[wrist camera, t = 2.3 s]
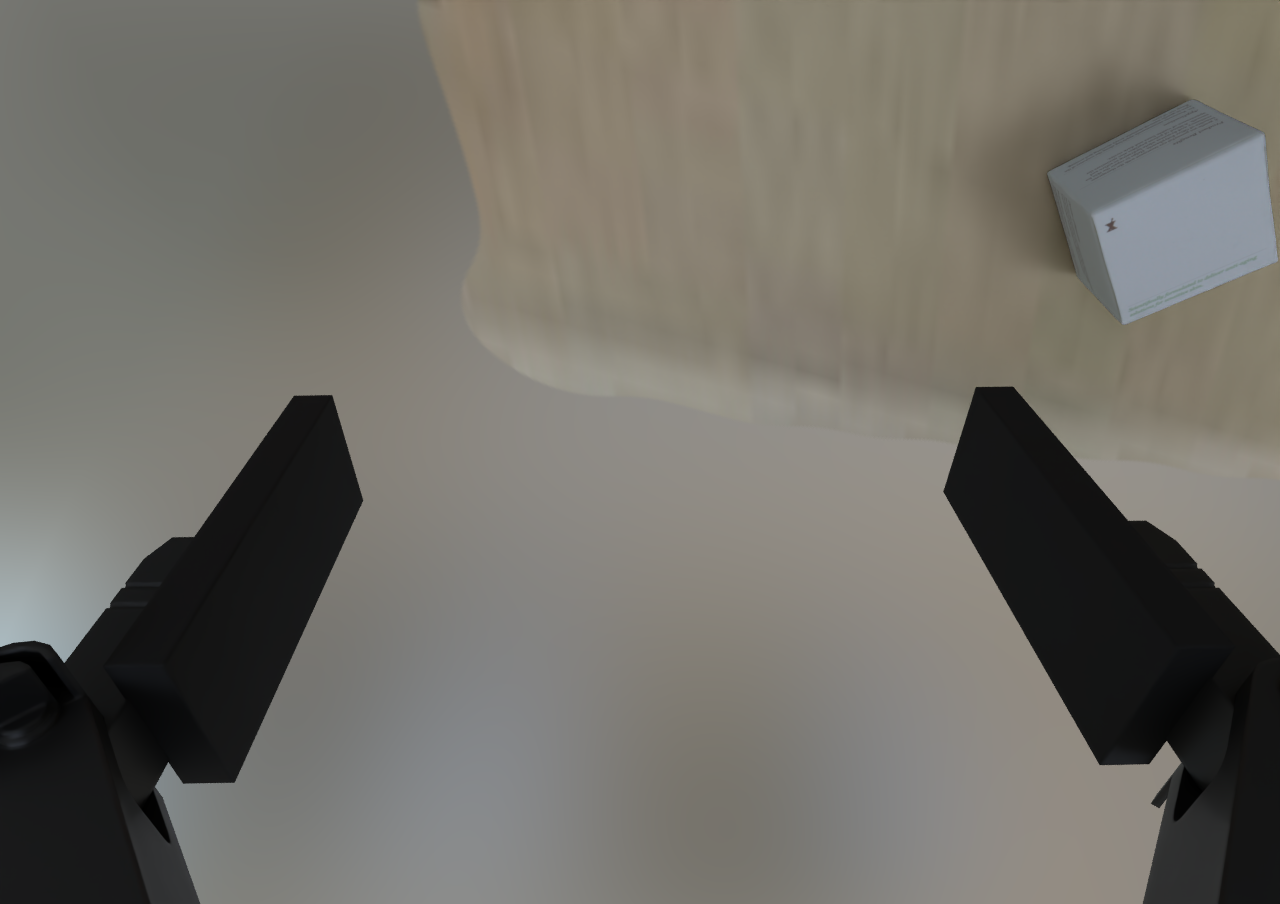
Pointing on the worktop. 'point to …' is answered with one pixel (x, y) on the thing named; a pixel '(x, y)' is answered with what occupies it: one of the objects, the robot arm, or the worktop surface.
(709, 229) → the worktop surface
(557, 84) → the worktop surface
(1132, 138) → the small box
